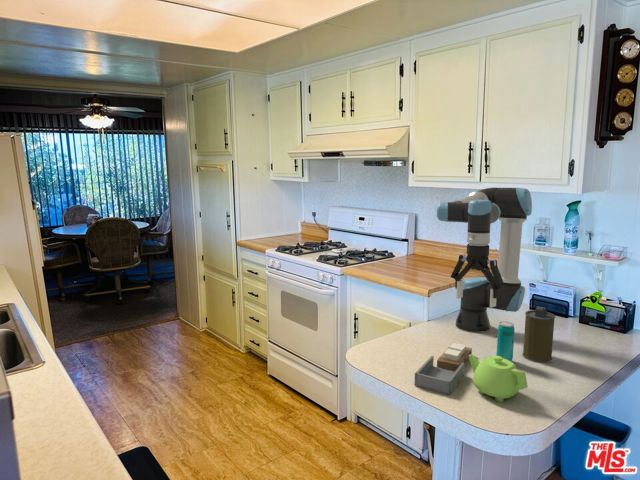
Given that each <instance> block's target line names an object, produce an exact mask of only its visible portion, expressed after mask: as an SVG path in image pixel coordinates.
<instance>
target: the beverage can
mask: <svg viewBox="0 0 640 480" xmlns="http://www.w3.org/2000/svg"><path fill="white" fill-rule="evenodd" d="M514 326H515V324H514V323H512V322H510V321H500V322H499V324H498V326H497V340H496V341H497V342H496V356H500V357H502V358H504V359H506V360H509V361H511V362H512V361H513V359H514V343H515V327H514Z"/></svg>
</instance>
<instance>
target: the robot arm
mask: <svg viewBox="0 0 640 480" xmlns="http://www.w3.org/2000/svg"><path fill="white" fill-rule="evenodd" d="M532 203H533V202H532V195H531V192H530V190H529V189H528V188H523V187H486V188H483V189H479V190H476V191H473V192H471V193H469V195H468V196H466V197H462V198H460V199H458V200H455V201H441V202H439V204H438V205H437V207H436V217H437V219H438V221H440V222H446V223H447V222H449V223H466V224H467V232H466V233H467V236H466V237H467V238H466V243H467V245H466V254H465V253H464V254H460V255H459V256H458V261H457V263H456V264H455V267H454V269H453V271H451V275H450V278H451V279H454V283H455V285H454V288H455V290H456V297H455V298H456V299H460V305H459V307H460V308H459V311H458V314H457V316H456V319H455V326H456V328H457V329H459V330H462V331H464V332H465V331H466V332H471V333H485V332H488V331H489V330H491V329H490V328H491V322H490V319H489V316H488V311H487V310H488V308H489V309H494V310H500V311H505V312H511V313H516V312H519V311H520V309H521V307H522V304H523V302H524V299H525V293H526V287H525V286H523V285H522V280H521V279H520V278H519V268H520V256H521V255H520V254H521V247H522V246H521V245H522V234H523V232H522V231H523V223H525V222H526V221H527V219H528V218H527V217H529V216H531V215H532V211H533V204H532ZM498 220H499V221H500V235H499V236H500V237H499V244H498V245H499V247H498V257H497V258H498V259H489V255H490V242H491V239H490V238H491V225H492V224H494V223H495V222H496V221H498ZM465 262H466V265H464V264H465ZM463 266H464V267H463ZM470 270H476V271H478V272H481V273H482V274H483V275H484V276H472V277H471V276H470V277H467V278H464V277H465V276H466V275H467V273H468V272H469V271H470ZM463 278H464V279H463Z"/></svg>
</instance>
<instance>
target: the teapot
mask: <svg viewBox="0 0 640 480" xmlns="http://www.w3.org/2000/svg"><path fill="white" fill-rule="evenodd" d="M468 360H469V362H470V366H471V369H472V372H473V377H472V382H473V385H474V386H475V388H476V389H477V390H478V392H477V393H478V394H480V395H487V396H490V397H493V398H495V399H494V400H495V401H496V402H499V403H503V402H505V399H510V398H512V397H513V396H516V394H517V393H518V392H519V391H521V390H524V389H526V388H528V387H529V386H528V380H527V376H526V371H525V370H520V369H517V367H516V365H515V363H513V362H512V361H509V360H506V359H504V358H502V357H500V356H497V355H492V356H491V355H490V356H487V357H484V358H483V359H482V360H480V361H479V360H478V358H477V357H476V355H474V354H472V355H471V354H470V355H469V359H468Z"/></svg>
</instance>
